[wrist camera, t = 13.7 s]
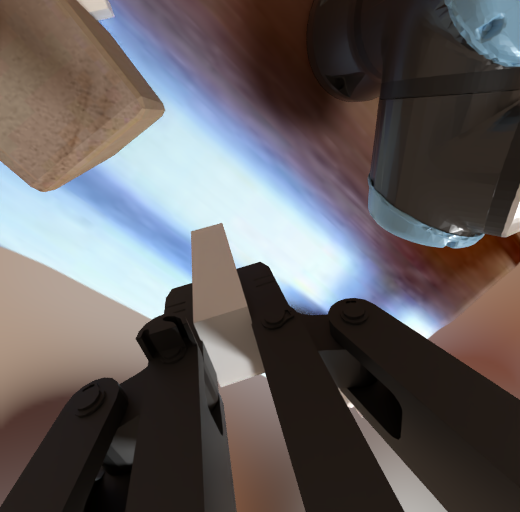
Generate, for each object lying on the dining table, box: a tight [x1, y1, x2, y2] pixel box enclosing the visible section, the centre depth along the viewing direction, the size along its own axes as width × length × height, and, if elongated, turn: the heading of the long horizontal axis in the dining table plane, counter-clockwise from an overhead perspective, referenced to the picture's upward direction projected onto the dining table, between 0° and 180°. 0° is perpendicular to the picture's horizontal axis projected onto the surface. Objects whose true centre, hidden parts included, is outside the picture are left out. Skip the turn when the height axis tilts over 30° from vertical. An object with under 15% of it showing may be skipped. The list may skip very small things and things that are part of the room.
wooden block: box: [0, 0, 165, 192], centre depth 25 cm, size 10×10×20 cm
